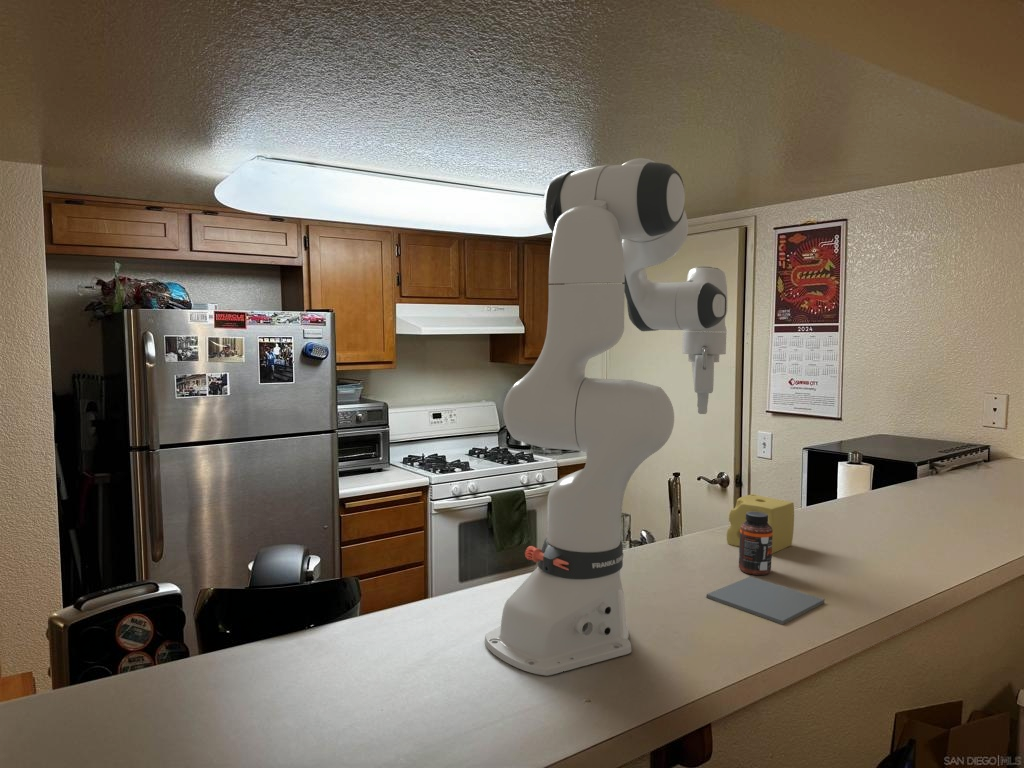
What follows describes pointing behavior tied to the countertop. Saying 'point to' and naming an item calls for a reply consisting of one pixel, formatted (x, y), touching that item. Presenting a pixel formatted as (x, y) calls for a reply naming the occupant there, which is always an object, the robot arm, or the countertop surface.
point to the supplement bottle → (755, 544)
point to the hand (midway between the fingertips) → (702, 411)
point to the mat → (766, 599)
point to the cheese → (777, 519)
